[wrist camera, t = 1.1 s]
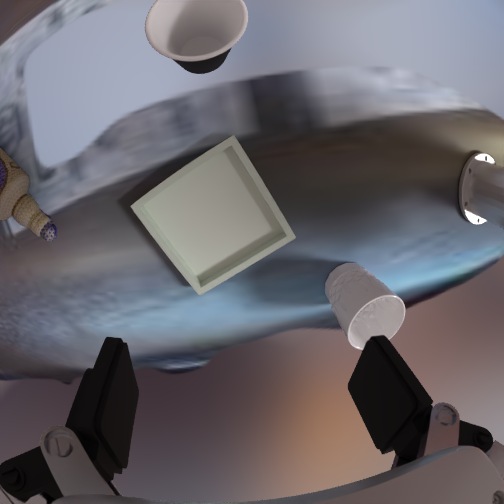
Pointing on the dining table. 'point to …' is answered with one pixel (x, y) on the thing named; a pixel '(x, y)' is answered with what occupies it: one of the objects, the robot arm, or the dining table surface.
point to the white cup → (363, 304)
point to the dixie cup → (196, 31)
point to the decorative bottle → (21, 200)
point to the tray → (214, 216)
